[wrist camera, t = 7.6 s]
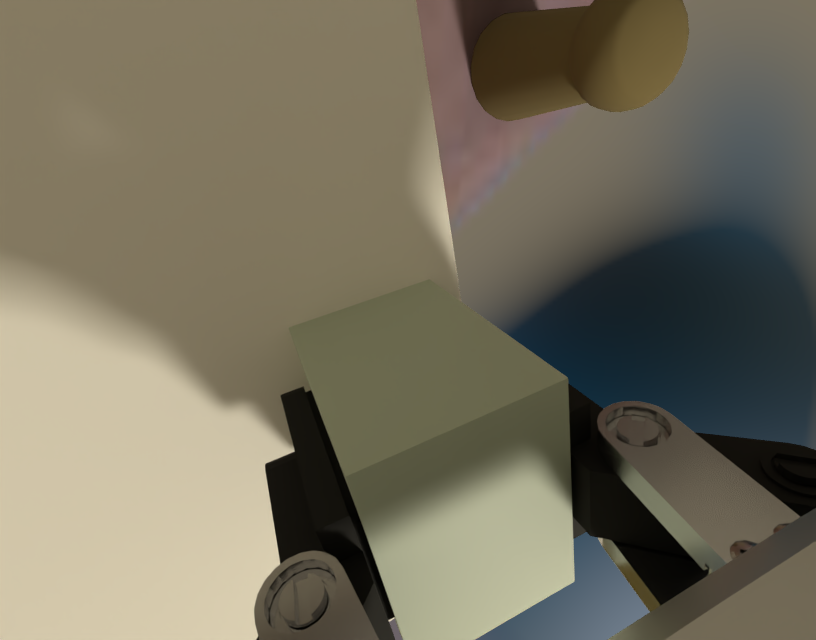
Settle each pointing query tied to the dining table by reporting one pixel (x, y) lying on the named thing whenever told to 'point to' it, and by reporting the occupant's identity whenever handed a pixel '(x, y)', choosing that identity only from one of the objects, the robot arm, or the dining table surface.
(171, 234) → the lid
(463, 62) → the dining table surface
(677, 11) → the cork
